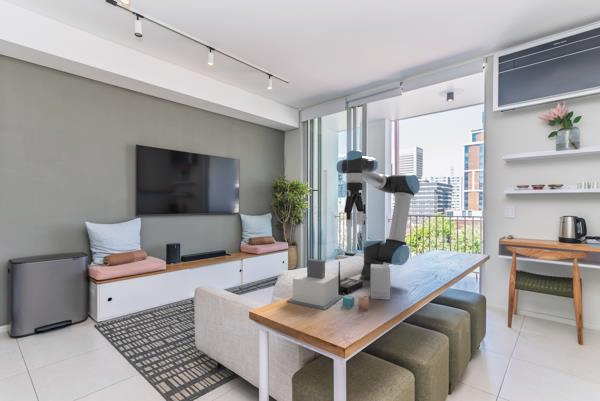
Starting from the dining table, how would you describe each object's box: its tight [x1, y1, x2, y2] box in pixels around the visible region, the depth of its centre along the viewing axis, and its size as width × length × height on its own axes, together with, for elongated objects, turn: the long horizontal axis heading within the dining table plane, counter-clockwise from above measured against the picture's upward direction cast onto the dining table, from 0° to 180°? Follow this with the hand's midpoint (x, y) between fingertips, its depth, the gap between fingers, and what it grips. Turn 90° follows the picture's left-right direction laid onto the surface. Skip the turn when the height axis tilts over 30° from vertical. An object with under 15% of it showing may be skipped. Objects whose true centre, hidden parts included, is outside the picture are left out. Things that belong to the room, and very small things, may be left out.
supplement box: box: [370, 264, 391, 301], centre depth 144 cm, size 9×9×15 cm
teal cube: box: [342, 294, 355, 309], centre depth 131 cm, size 4×4×4 cm
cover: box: [292, 258, 338, 306], centre depth 139 cm, size 16×16×18 cm
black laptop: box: [338, 261, 364, 295], centre depth 155 cm, size 20×14×17 cm
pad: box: [286, 294, 345, 311], centre depth 139 cm, size 20×20×1 cm
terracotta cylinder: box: [358, 295, 369, 312], centre depth 127 cm, size 4×4×5 cm
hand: (354, 225), depth 144 cm, fingers open, 13 cm apart
